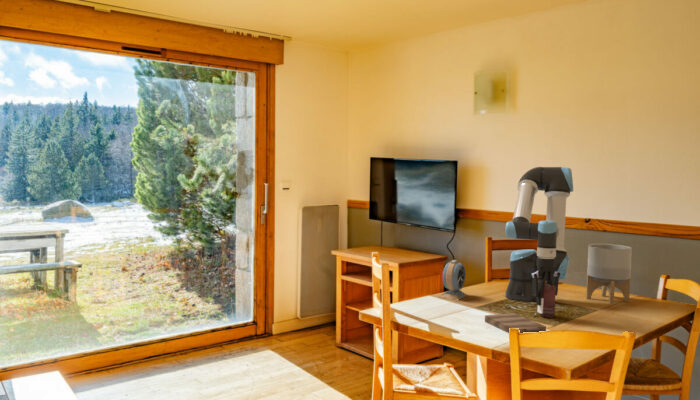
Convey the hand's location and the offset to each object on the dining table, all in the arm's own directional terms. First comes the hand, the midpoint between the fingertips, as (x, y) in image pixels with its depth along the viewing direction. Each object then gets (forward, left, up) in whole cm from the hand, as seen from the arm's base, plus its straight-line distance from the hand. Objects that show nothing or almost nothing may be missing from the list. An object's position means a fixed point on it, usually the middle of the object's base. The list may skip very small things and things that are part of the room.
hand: (544, 312), depth 231 cm
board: (+11, -22, -2) cm, 25 cm away
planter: (-17, +50, -2) cm, 53 cm away
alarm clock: (-43, -19, -2) cm, 47 cm away
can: (0, +1, -2) cm, 2 cm away
